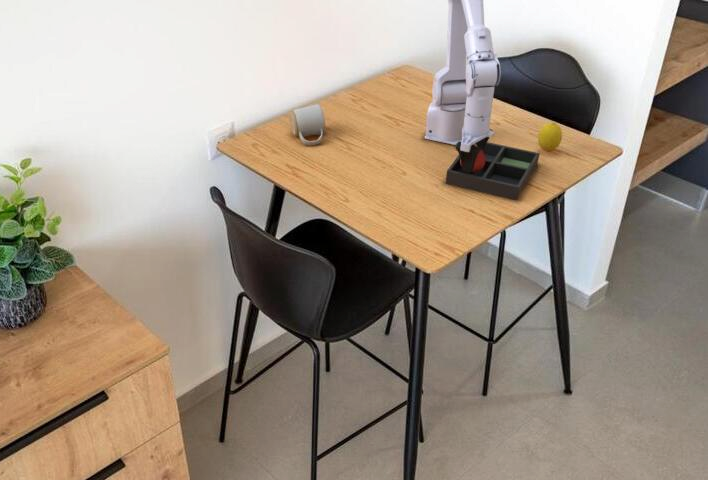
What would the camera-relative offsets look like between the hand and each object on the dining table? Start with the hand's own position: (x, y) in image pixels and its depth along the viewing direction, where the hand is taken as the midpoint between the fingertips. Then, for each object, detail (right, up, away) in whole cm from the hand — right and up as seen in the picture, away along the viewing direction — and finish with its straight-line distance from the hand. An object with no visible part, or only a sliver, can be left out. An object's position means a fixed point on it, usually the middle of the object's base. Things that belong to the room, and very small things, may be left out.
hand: (471, 164), depth 180 cm
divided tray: (+6, -2, +3) cm, 7 cm away
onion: (0, -2, +2) cm, 3 cm away
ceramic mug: (-38, +11, +22) cm, 45 cm away
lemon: (+21, +5, +11) cm, 25 cm away
